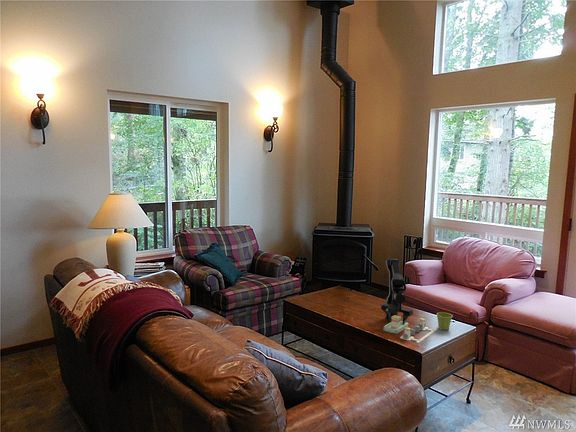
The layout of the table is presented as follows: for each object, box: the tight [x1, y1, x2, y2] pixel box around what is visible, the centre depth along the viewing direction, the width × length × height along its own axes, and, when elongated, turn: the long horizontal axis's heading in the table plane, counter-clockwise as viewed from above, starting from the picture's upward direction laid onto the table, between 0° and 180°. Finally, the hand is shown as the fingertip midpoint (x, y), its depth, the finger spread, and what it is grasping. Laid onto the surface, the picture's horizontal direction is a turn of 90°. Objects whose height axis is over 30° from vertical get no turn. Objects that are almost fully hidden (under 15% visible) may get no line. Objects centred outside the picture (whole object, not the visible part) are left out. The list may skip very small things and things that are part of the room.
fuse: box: [390, 315, 402, 329], centre depth 252 cm, size 4×4×7 cm
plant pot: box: [436, 311, 453, 331], centre depth 254 cm, size 9×9×9 cm
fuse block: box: [399, 317, 437, 345], centre depth 244 cm, size 11×27×6 cm, turn 139°
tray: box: [382, 320, 410, 335], centre depth 253 cm, size 9×17×2 cm, turn 139°
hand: (396, 323), depth 252 cm, fingers open, 9 cm apart
